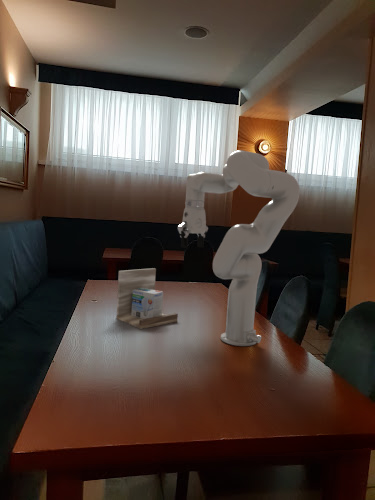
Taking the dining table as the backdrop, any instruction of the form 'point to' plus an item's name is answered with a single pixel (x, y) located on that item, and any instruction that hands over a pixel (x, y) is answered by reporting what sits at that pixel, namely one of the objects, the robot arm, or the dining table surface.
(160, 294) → the light bulb box
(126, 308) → the board
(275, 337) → the dining table surface
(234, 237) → the robot arm
